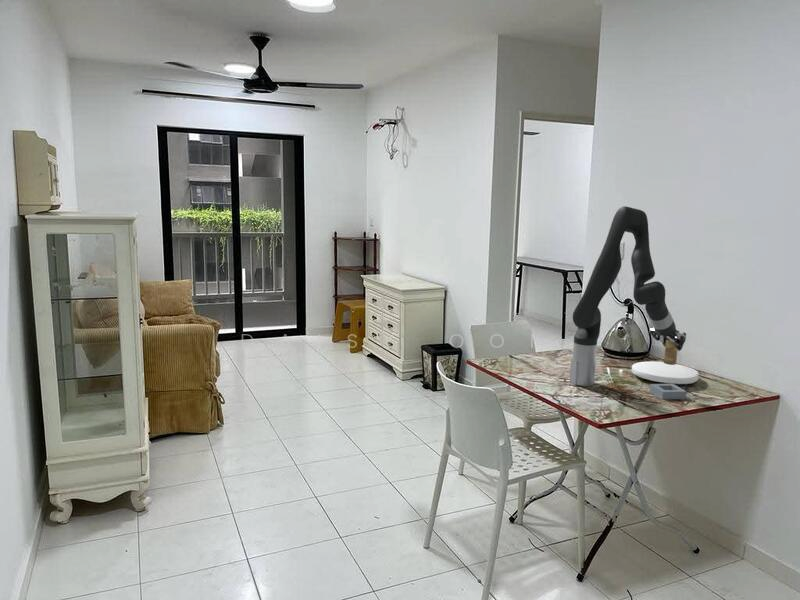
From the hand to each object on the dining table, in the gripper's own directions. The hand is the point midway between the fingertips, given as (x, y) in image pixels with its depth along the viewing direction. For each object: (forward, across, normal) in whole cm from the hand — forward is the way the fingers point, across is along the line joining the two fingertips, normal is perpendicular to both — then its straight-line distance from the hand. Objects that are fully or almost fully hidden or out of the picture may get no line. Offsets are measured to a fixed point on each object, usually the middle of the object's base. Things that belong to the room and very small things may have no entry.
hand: (673, 347), depth 226 cm
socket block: (+12, 0, +15) cm, 19 cm away
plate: (+27, +11, 0) cm, 29 cm away
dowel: (+3, 0, +6) cm, 6 cm away
